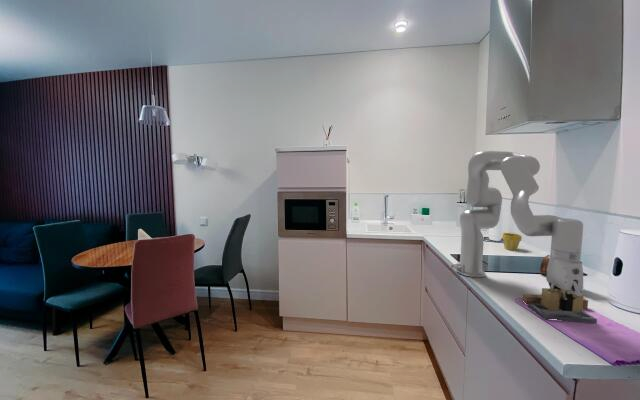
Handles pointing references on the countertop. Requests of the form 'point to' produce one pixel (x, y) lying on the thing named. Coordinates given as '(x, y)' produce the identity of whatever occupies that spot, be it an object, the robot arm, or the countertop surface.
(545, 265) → the tin
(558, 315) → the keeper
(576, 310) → the bar
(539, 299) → the door edge strip
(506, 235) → the plant pot
